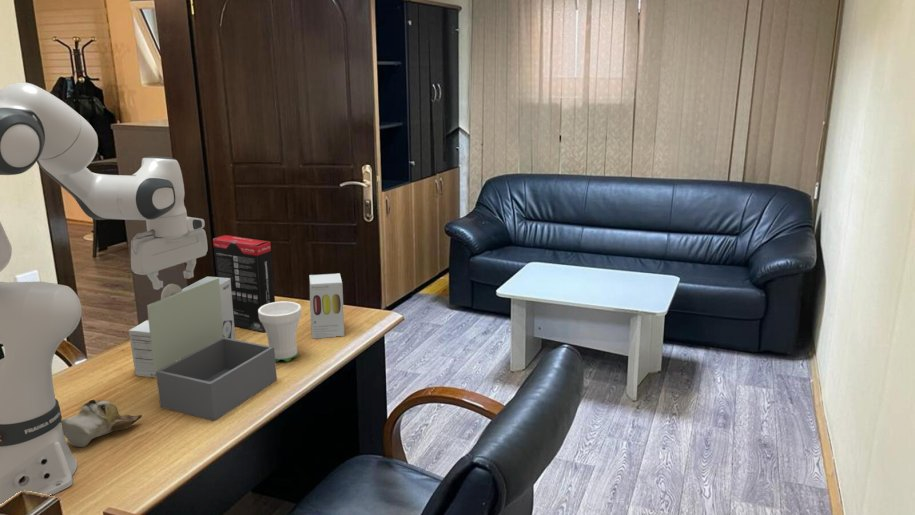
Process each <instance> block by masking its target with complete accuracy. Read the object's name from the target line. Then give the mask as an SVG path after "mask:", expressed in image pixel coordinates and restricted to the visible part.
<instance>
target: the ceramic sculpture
mask: <svg viewBox="0 0 915 515" xmlns="http://www.w3.org/2000/svg"><path fill="white" fill-rule="evenodd" d="M142 417H143V415H142V414H138V415H131V414H124V415H121V414H119V409H118V407H117V406H116V404H114V402H113V403H112V402H111V401H108V400H103V399H102V400H97V401H96V400H95V399H91V400H89V401H87V402H86V403H84V404H82V407H81V409H80V411H79V413H78V414H76V415H73V416H70V417H65V418H63V419H61V427H62V430H63V433H64V436H65V439H67V441H68V442H69V443H70V445H71V446H73V447H75V448H84V447H86V446H88V444H89V443H90V442H91V440H92V439H96V438H98V437H102V436H105V435H107V434H109V433H111V432H114V431H121V430H125V429H128V428H129V427H131V426H132V425H134V424H135V423H136V422H138V421H139V420H140V419H141V418H142Z"/></svg>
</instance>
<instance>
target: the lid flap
mask: <svg viewBox="0 0 915 515" xmlns="http://www.w3.org/2000/svg"><path fill="white" fill-rule="evenodd" d="M146 308H147V317H148V318H147V320H149V330H150V339H151V349H152V358H153V368H154V371H158V370H160V369H162V368H163V367H165V366H167V365H169V364H171V363H173V362H175V361H178V360H180V359H181V358H183V357H185V356H187V355H189V354H191V353H193V352H195V351H197V350H199V349H201V348H203V347H205V346H207V345H209V344H211V343H212V342H214V341H216V340H218V339H220V338H222V337H223V327H222V312H221V298H220V284H219V278H215V279H212V280H210V281H207V282H205V283H202V284H200V285H197V286H195V287H192V288H190V289H187V290H185V291H182V288H181V286H180V285H178V284H175V283H169V284H167V285H166V286H165V287H163V288H162V291H161V294H160V300H157V301H155V302H151V303H149V304H147V305H146Z"/></svg>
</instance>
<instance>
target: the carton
mask: <svg viewBox="0 0 915 515" xmlns="http://www.w3.org/2000/svg"><path fill="white" fill-rule="evenodd" d="M276 368H277V366H276V362H275V352H274V347H271V346H269V345H265V344H260V343H255V342H252V341H251V342H250V341H245V340H240V339H236V338H235V339H230V338H225V337H223V338H221V339H219V340H217V341H215V342H213V343H211V344H209V345H207V346H205V347H203V348H201V349H199V350H197V351H195V352H193V353H191V354H189V355H187V356H185V357H183V358H182V359H179V360H177V361H176V362H174V363H172V364H170V365H168V366H166V367H164V368H162V369H160V370H158V371H156V377H157V378H156V383H157V391H158V397H159V404H160V405H159V406H160V408H163V409H166V410H170V411H174V412H179V413H182V414H185V415H186V414H187V415H191V416H195V417H198V418H200V419H201V418H203V419H206V420H210V421H214V422H215V421H217V420H218V419H219V418H222V417H223V416H225V415H226V414H227V413H229V412H230V411H232V410H234V409H235V408H236V407H238V406H240V405H241V404H243V403H244V402H246V401H247V400H249V399H250V398H252V397H253V396H255V395H256V394H258V393H259V392H261V391H263V390H264V389H265V388H268V387H269V386H270V385H272V384H273V383H274V382H276V381H277V380H278V379H277V378H278V377H277V369H276Z"/></svg>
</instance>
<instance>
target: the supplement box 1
mask: <svg viewBox="0 0 915 515" xmlns="http://www.w3.org/2000/svg"><path fill="white" fill-rule="evenodd" d="M128 332H129V333H128V334H129V340H130V347H131V354H132V361H133V362H132V363H133V368H134V373H135V376H138V377H146V378H156V379H157V377H156V371H154V368H153V358H152V349H151V339H150V330H149V320H148V319H146V320H145V321H143V322H141V323H140V324H138V325H136V326H134V327H132V328H130V329H129V330H128ZM175 362H176V361H175ZM173 363H174V362H173ZM171 364H172V363H171ZM169 365H170V364H169ZM167 366H168V365H167ZM165 367H166V366H165ZM163 368H164V367H163Z"/></svg>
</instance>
